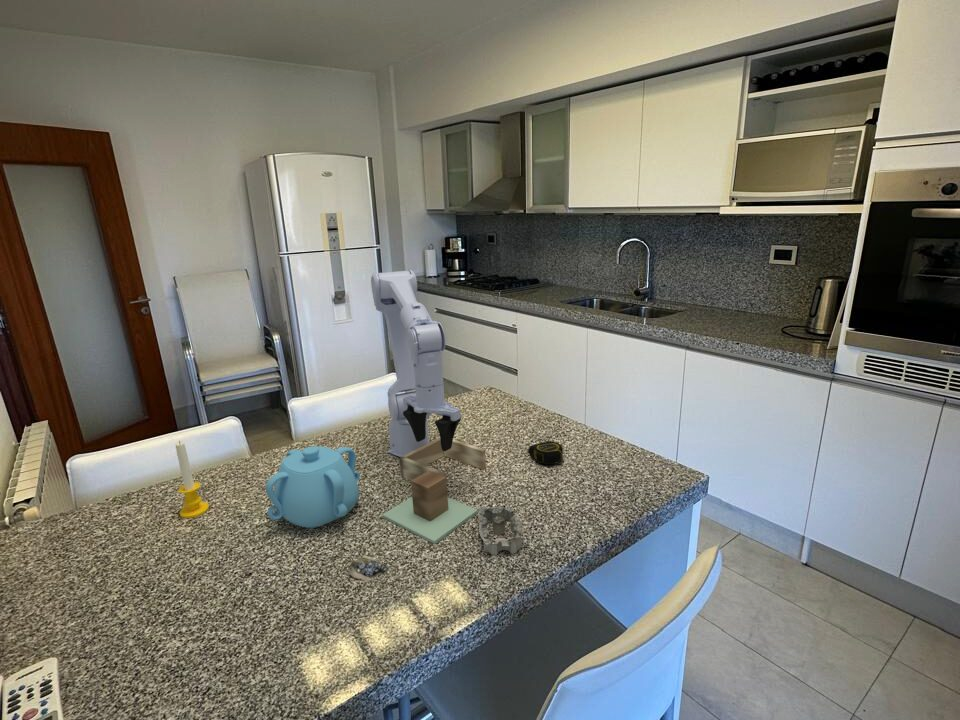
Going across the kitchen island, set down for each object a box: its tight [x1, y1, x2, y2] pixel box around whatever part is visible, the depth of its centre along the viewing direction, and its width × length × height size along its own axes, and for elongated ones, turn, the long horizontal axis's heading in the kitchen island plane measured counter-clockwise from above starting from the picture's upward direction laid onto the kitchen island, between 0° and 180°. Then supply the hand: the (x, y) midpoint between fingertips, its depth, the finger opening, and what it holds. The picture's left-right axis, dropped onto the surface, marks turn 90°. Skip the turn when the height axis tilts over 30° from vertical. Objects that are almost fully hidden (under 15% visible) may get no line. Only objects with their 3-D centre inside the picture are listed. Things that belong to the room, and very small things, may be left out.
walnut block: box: [410, 471, 449, 521], centre depth 97 cm, size 4×5×7 cm
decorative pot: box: [265, 445, 361, 530], centre depth 99 cm, size 16×16×14 cm
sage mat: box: [381, 496, 479, 545], centre depth 98 cm, size 14×12×1 cm
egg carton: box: [478, 506, 523, 556], centre depth 90 cm, size 10×7×4 cm
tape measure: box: [527, 440, 564, 465], centre depth 117 cm, size 7×7×4 cm
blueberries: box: [347, 554, 389, 582], centre depth 84 cm, size 7×8×2 cm
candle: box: [175, 440, 210, 519], centre depth 101 cm, size 5×5×16 cm
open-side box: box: [398, 437, 487, 482], centre depth 114 cm, size 13×14×4 cm
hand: (433, 444), depth 106 cm, fingers open, 7 cm apart
